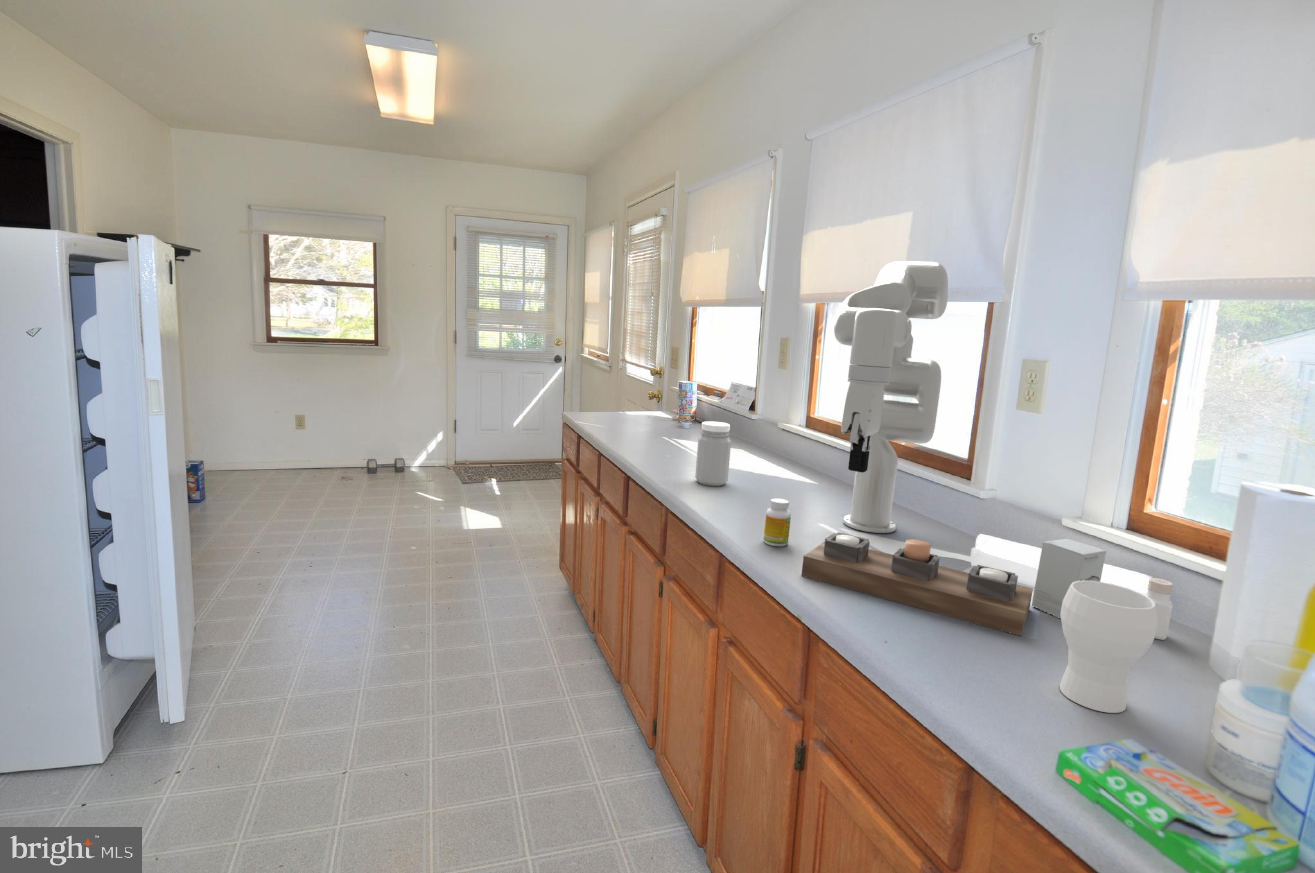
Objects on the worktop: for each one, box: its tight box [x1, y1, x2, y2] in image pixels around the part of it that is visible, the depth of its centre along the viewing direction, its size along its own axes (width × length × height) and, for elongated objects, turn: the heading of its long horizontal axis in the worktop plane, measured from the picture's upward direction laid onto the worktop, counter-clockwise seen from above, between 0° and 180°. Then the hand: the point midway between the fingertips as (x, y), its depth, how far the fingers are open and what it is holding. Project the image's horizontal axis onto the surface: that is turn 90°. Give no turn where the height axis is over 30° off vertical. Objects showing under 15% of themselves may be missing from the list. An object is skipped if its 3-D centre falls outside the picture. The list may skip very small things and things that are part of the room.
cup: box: [1059, 581, 1157, 714], centre depth 91 cm, size 11×11×15 cm
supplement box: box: [1031, 538, 1107, 620], centre depth 120 cm, size 7×7×13 cm
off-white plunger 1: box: [836, 534, 859, 546], centre depth 132 cm, size 4×4×3 cm
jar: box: [694, 420, 732, 487], centre depth 200 cm, size 10×10×18 cm
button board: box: [800, 531, 1034, 637], centre depth 125 cm, size 14×38×7 cm, turn 57°
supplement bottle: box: [763, 497, 792, 547], centre depth 148 cm, size 5×5×10 cm
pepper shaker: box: [1144, 577, 1174, 641], centre depth 113 cm, size 4×4×10 cm
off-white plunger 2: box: [979, 567, 1008, 582], centre depth 118 cm, size 4×4×3 cm
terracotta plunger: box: [904, 538, 932, 563], centre depth 124 cm, size 4×4×3 cm
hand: (857, 470), depth 129 cm, fingers closed
